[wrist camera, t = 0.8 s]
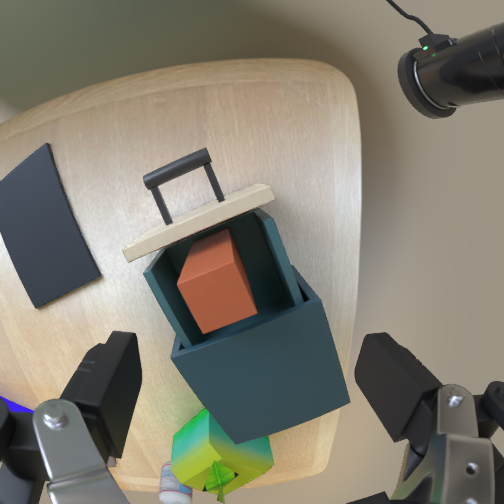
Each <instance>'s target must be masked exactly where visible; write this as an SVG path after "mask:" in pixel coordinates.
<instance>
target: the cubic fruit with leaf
mask: <svg viewBox="0 0 504 504" xmlns="http://www.w3.org/2000/svg"><path fill="white" fill-rule="evenodd" d="M273 465H274V461H273V456H272V451H271V447H270V442H269V437H268V435H267V436H264V437H261V438H257V439H254V440H251V441H247V442H244V443H240V444H236V445H235V443H234V442H233V441H232V440H231V439H230V438H229V436H228V435H227V434H226V433H225V432H224V430H223V429H222V428H221V427H220V425H219V424H218V423H217V422H216V420H215V419H214V418H213V417H212V415H211V414H210V413H209V411H208V410H207V409H206V408H204V409H203V410H202V411H201V412H200V413H199V414H198V415H197V416H195V417H194V418H193V419H192V420H191V421H190V422H189V423H187V424H186V425H185V426H184V427H183V428H182V429H181V430H179V431H178V432H177V433H176V434H175V435H174V438H173V447H172V457H171V467H170V470H171V471H172V473H173V474H174V475H175V477H176V478H177V479H178V480H179V482H180V483H181V484H184V485H187V486H190V487H193V488H196V489H199V490H203V491H206V492H210V493H214V494H217V495H218V498H217V501H220V502H222V503H225V502H224V495H225V494H227V493H229V492H231V491H233V490H235V489H237V488H239V487H241V486H243V485H244V484H246V483H248V482H250V481H252V480H253V479H255V478H257V477H259V476H260V475H262V474H264V473H265V472H267V471H268V470H269V469H270V468H271V467H272V466H273Z"/></svg>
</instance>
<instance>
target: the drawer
mask: <svg viewBox="0 0 504 504" xmlns="http://www.w3.org/2000/svg"><path fill="white" fill-rule="evenodd" d="M211 162H212V160H211V158H210V156H209V153H208V151H207V148H203V149H201V150H199V151H196V152H194V153H192V154H189V155H187V156H185V157H183V158H180V159H178V160H176V161H174V162H171V163H169V164H167V165H165V166H163V167H161V168H159V169H157V170H154V171H152V172H150V173H148V174H146V175H144V176H143V181H144V183H145V186H146V187H147V189H148V190H151V192H152V194H153V196H154V199H155V201H156V203H157V206H158V208H159V210H160V213H161V215H162V217H163V219H164V223H162V224H160V225H158V226H155V227H153V228H151V229H149V230H147V231H145V232H144V233H143V234H142V235H140V236H139V237H138V238H136V239H135V240H134V241H133V242H131V243H130V244H129V245H128V246H126V247H125V248H124V249H123V250H122V251H123V253H124V255H125V257H126V260H127V262H128V263H129V262H132V261H134V260H136V259H138V258H140V257H142V256H145V255H147V254H149V253H151V252H153V251H156V250H158V249H160V248H162V247H165V246H167V245H169V244H171V243H174V242H176V241H178V240H180V239H183V238H185V237H187V236H190V235H192V234H194V233H197V232H199V231H201V230H204V229H206V228H208V227H211V226H213V225H215V224H218V223H220V222H222V221H225V220H227V219H230V218H232V217H235V216H237V215H239V214H242V213H244V212H247V211H249V210H252V209H254V208H257V207H259V206H262V205H264V204H267V203H269V202H272V201H274V200H275V196H274V193H273V191H272V188H271V186H268V185H263V184H257V183H256V184H253V185H251V186H248V187H246V188H243V189H241V190H238V191H236V192H233V193H231V194H229V195H226V196H223V193H222V191H221V188H220V186H219V184H218V181H217V179H216V176H215V174H214V171H213V169H212V167H211V164H210V163H211ZM202 166H204V168H205V171H206V173H207V176H208V178H209V181H210V183H211V185H212V188H213V190H214V193H215V195H216V197H217V200H214V201H212V202H209V203H207V204H205V205H202V206H200V207H198V208H195V209H193V210H191V211H189V212H186V213H184V214H182V215H180V216H177V217H175V218H173V219H172V218H171V216H170V213H169V211H168V209H167V207H166V204H165V202H164V200H163V197H162V195H161V193H160V190H159V188H158V187H157V186H159V185H161V184H164V183H166V182H168V181H170V180H172V179H174V178H177V177H179V176H181V175H183V174H185V173H188V172H190V171H192V170H195V169H197V168H199V167H202ZM228 227H229V230H230V232H231V234H232V237H233V239H234V241H235V244H236V246H237V248H238V251H239V253H240V256H241V258H242V260H243V263H244V267H245V270H246V274H247V278H248V281H249V285H250V288H251V292H252V295H253V299H254V302H255V306H256V309H257V314H255V315H252V316H250V317H247V318H245V319H242V320H239V321H237V322H234V323H232V324H229V325H226V326H224V327H221V328H219V329H216V330H213V331H211V332H208V333H205V334H203V333H202V331H201V329H200V327H199V326H198V324H197V322H196V320H195V318H194V316H193V315H192V313H191V311H190V309H189V307H188V305H187V303H186V302H185V300H184V298H183V296H182V294H181V292H180V290H179V288H178V286H177V283H178V280H179V277H180V275H181V272H182V269H183V267H184V264H185V261H186V259H187V256H188V254H189V251H190V249H191V246H192V243H193V242H194V241H197V240H199V239H201V238H204V237H206V236H208V235H211V234H213V233H216V232H218V231H220V230H223V229H225V228H228ZM143 275H144V277H145V278H146V280H147V282H148V284H149V286H150V288H151V290H152V292H153V294H154V296H155V297H156V299H157V301H158V303H159V305H160V306H161V308H162V310H163V312H164V314H165V315H166V317H167V319H168V321H169V322H170V324H171V326H172V328H173V329H174V331H175V333H176V334H177V336H178V338H179V339H180V341H181V343H182V344H183V346H184V348H185V349H186V348H189V347H191V346H194V345H197V344H200V343H203V342H206V341H208V340H211V339H214V338H217V337H219V336H222V335H225V334H227V333H230V332H233V331H235V330H238V329H240V328H243V327H246V326H248V325H251V324H253V323H256V322H258V321H261V320H263V319H266V318H268V317H271V316H273V315H275V314H278V313H280V312H283V311H285V310H287V309H290V308H292V307H295V306H297V305H299V304H302V303H304V301H303V298H302V295H301V292H300V290H299V287H298V284H297V281H296V278H295V276H294V273H293V270H292V267H291V265H290V262H289V259H288V256H287V254H286V251H285V248H284V246H283V243H282V240H281V238H280V235H279V232H278V230H277V227H276V224H275V222H274V219H273V218H272V217H271V216H269V215H268V214H267V213H265V212H264V211H263V210H262V209H260V208H258V209H256V210H253V211H251V212H248V213H246V214H243V215H241V216H238V217H236V218H234V219H231V220H229V221H226V222H224V223H222V224H219V225H217V226H214V227H212V228H210V229H207V230H205V231H203V232H200V233H198V234H196V235H193V236H191V237H189V238H186V239H184V240H182V241H180V242H177V243H175V244H173V245H170V246H168V247H166V248H164V249H161V250H160V252H159V253H158V254H157V255H156V257H155V258H154V259H153V261H152V262H151V263H150V265H149V266H148V267H147V269H146V270H145V271H144V273H143Z"/></svg>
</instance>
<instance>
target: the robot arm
mask: <svg viewBox="0 0 504 504" xmlns="http://www.w3.org/2000/svg"><path fill="white" fill-rule="evenodd" d="M387 1H388V3H389V4H391V6H393V7H394V8H395V9H396V10H397V11H398V12H399V13H400V14H401V15H403V16H404V17H406V18H407V19H410V20H414V21H416V22H417V23H418V24H419V25H421V27H422V28H423V29H424V30H425V31H426V32H427V33H428V35H426V36H424V37H422V38H420V39H419V42H420V44H421V46H422V48H423V50H422V51H420V52H418V53H416V54H414V55H412V56H411V59H412V62H413V63H412V75H413V79H414V82H415V85H416V87H417V89H418V91H419V92H420V94H421V95H422V97H423V98H424V99H425V100H426V101H427V102H428V103H429V104H430V105H432V106H433V107H435V108H437V109H449V108H452V107H456V108H458V107H461V106H462V105H468V104H473V103H480V102H486V101H493V100H500V99H504V22H502V23H499V24H496V25H493V26H491V27H488V28H485V29H482V30H479V31H477V32H474V33H472V34H469V35H466V36H464V37H461V38H459V39H458V38H450V37H449V36H448V35H441V34H433V32H431V30H430V29H429V28H428V27H427V26H426V25H425V24H424V23H423V22H422V21H421V20H420V19H419V18H417V17H415V16H412V15H408V14H407V13H405V12H404V11H403V10H402V9H401V8H400V7H398V6H397V5H396V4H395V3H394V2H393V1H392V0H387ZM355 380H356V383H357V385H358V386H359V388H360V389H361V391H362V392H363V394H364V396H365V397H366V399H367V400H368V402H369V403H370V405H371V407H372V408H373V410H374V411H375V413H376V414H377V416H378V418H379V419H380V421H381V422H382V424H383V425H384V427H385V429H386V430H387V432H388V433H389V435H390V437H391V438H392V439H393V441H394V442H398V441H401V440H404V439H408V440H409V443H408V444H407V446H406V448H405V452H404V457H403V462H402V466H401V471H400V475H399V479H398V483H397V486H396V489H395V491H394V493H393V495H392V496H391V498H390V499H389V498H388V497H387V495H386V493H385V491H384V492H381V493H378V494H375V495H373V496H369V497H367V498H363V499H360V500H357V501H353V502H349V503H347V504H504V458H503V456H502V455H501V454H500V452H499V451H498V450H497V448H496V447H495V446H494V444H493V443H492V441H491V440H490V438H491V436H492V435H493V434H494V433H495V431H496V430H497V428H498V427H499V426H500V427H501V428H502V429H503V430H504V382H500V381H494V382H491V383H490V384H489V385H488V387H487V389H486V391H485V392H484V394H482V395H472V394H471V393H470V392H469V391H468V390H467V389H465V388H464V387H462V386H459V385H456V384H447V385H442V383H441V382H440V381H439V380H438V379H437V378H436V377H435V376H434V375H433V374H432V373H431V372H430V371H429V370H428V369H427V368H426V367H425V366H424V365H422V363H421V362H420V361H419V360H418V359H416V357H415V356H414V355H413V354H412V353H411V352H410V351H409V350H408V349H406V348H404V347H403V346H401V345H399V344H398V343H397V342H396V341H394V339H393V338H392V337H391V336H390V335H389V334H387V333H386V332H383V333H373V334H367V335H366V336H365V337H364V340H363V343H362V347H361V350H360V354H359V357H358V360H357V363H356V367H355ZM141 384H142V368H141V362H140V355H139V348H138V341H137V336H136V334H135V333H132V332H122V331H113V332H112V333H111V335H110V337H109V338H108V340H107V342H106V343H105V344H101V343H99V344H97V345H96V346H94V347H93V348H91V349H90V350H89V351H88V352H87V353H86V355H85V357H84V358H83V360H82V362H81V363H80V365H79V366H78V368H77V370H76V371H75V373H74V374H73V376H72V378H71V379H70V381H69V383H68V384H67V386H66V388H65V389H64V391H63V393H62V394H61V396H60V398H59V399H51V400H48V401H45V402H43V403H41V404H40V405H39V406H38V407H37V408H36V409H35V411H34V413H31V412H14V411H10V409H9V407H8V405H7V403H6V402H5V401H4V399H2V398H1V397H0V461H1V462H2V463H3V464H2V466H1V469H0V504H39V500H40V496H41V493H42V490H43V486H44V483H45V481H50V483H48V484H47V492H48V494H49V497H50V500H51V502H52V504H130V503H129V501H128V500H127V498H126V497H125V495H124V494H123V492H122V491H121V489H120V487H119V486H118V484H117V483H116V481H115V479H114V478H113V476H112V474H111V473H110V471H109V469H108V468H107V463H108V460H109V456H110V457H114V458H119V459H121V457H122V453H123V449H124V446H125V442H126V438H127V434H128V430H129V427H130V423H131V419H132V416H133V412H134V409H135V405H136V402H137V398H138V395H139V392H140V388H141Z"/></svg>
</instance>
